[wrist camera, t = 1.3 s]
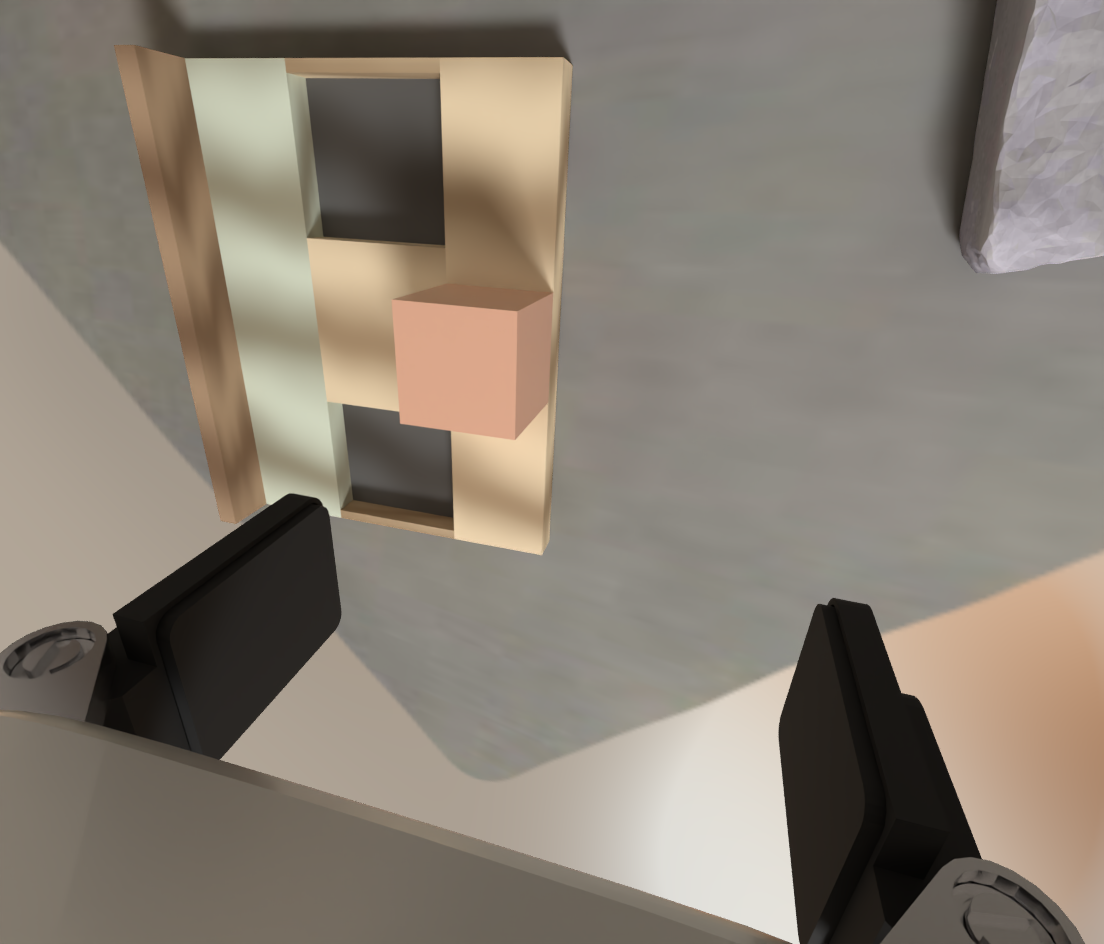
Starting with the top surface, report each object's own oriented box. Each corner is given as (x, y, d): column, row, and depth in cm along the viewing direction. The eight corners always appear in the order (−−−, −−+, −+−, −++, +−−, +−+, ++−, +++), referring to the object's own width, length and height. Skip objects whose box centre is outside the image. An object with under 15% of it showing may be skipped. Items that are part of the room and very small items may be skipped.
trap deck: (193, 65, 27) (114, 45, 24) (572, 65, 23) (545, 41, 20) (269, 490, 37) (220, 520, 33) (549, 540, 33) (527, 581, 29)
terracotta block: (446, 283, 27) (391, 299, 22) (553, 292, 26) (517, 311, 21) (449, 389, 29) (400, 423, 24) (548, 402, 28) (515, 440, 23)
